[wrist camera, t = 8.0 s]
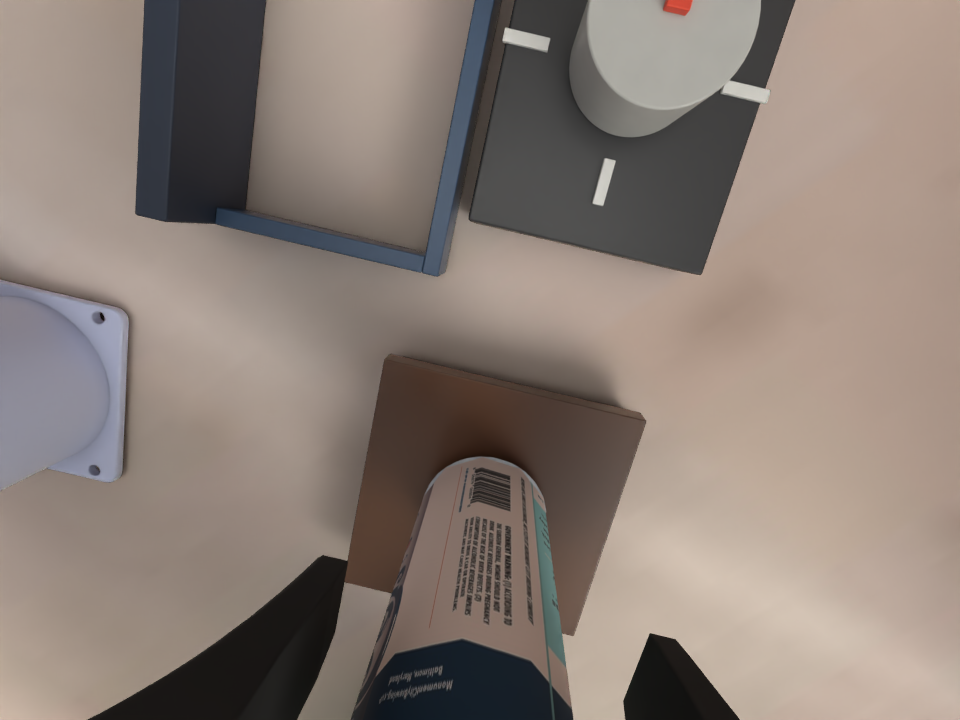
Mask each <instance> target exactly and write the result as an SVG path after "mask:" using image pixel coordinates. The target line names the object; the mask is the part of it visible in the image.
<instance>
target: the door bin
mask: <svg viewBox="0 0 960 720" xmlns="http://www.w3.org/2000/svg"><path fill="white" fill-rule="evenodd" d="M265 3H266V0H145V1H144V24H143V47H142V70H141V93H140V116H139V139H138V162H137V185H136V208H135V213H136V215H139V216H143V217H147V218H151V219H156V220H160V221H164V222H180V223H204V224H217V225H221V226H225V227H229V228H233V229H237V230H242V231H246V232H250V233H254V234H259V235H263V236H267V237H271V238H276V239H280V240H284V241H288V242H293V243H297V244H301V245H305V246H310V247H314V248H318V249H322V250H327V251H331V252H335V253H339V254H343V255H348V256H352V257H356V258H360V259H365V260H369V261H373V262H377V263H382V264H386V265H390V266H394V267H399V268H403V269H407V270H411V271H416V272H420V273H421V272H422V273H424V274H428V275H432V276H440V275H441V274H443V273H445V271H446V266H447V261H448V256H449V252H450V247H451V242H452V237H453V232H454V227H455V223H456V218H457V213H458V208H459V203H460V199H461V194H462V189H463V184H464V179H465V174H466V170H467V165H468V160H469V155H470V150H471V145H472V141H473V136H474V131H475V126H476V121H477V116H478V112H479V107H480V102H481V97H482V92H483V87H484V83H485V78H486V73H487V68H488V63H489V58H490V54H491V49H492V44H493V39H494V34H495V29H496V25H497V20H498V15H499V10H500V5H501V0H475V2H474V7H473V13H472V18H471V23H470V28H469V33H468V38H467V43H466V49H465V54H464V59H463V64H462V69H461V74H460V79H459V85H458V90H457V95H456V100H455V105H454V110H453V115H452V120H451V126H450V131H449V136H448V141H447V146H446V151H445V156H444V162H443V167H442V172H441V177H440V182H439V187H438V192H437V197H436V203H435V208H434V213H433V218H432V223H431V228H430V233H429V239H428V244H427V249H426V252H422V251H418V250H413V249H409V248H405V247H401V246H396V245H392V244H388V243H384V242H379V241H375V240H371V239H367V238H362V237H358V236H354V235H350V234H345V233H341V232H337V231H333V230H329V229H324V228H320V227H316V226H312V225H307V224H303V223H299V222H295V221H290V220H286V219H282V218H278V217H273V216H269V215H265V214H261V213H256V212H252V211H248V210H245V205H246V195H247V185H248V175H249V165H250V155H251V145H252V134H253V124H254V114H255V104H256V94H257V84H258V74H259V64H260V54H261V43H262V33H263V23H264V13H265Z"/></svg>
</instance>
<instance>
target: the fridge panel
mask: <svg viewBox="0 0 960 720" xmlns="http://www.w3.org/2000/svg"><path fill="white" fill-rule="evenodd" d="M587 2H588V0H515V2H514V7H513V11H512V16H511V21H510V26H509V28H505V30H504V35H503V39H502V42H503V43H506V44H505V49H504V54H503V58H502V63H501V68H500V72H499V77H498V82H497V87H496V91H495V96H494V101H493V105H492V110H491V115H490V119H489V124H488V129H487V133H486V138H485V143H484V148H483V152H482V157H481V162H480V166H479V171H478V176H477V180H476V185H475V190H474V194H473V199H472V204H471V209H470V213H469V220H470V221H471V222H474V223H478V224H482V225H486V226H490V227H494V228H499V229H503V230H507V231H511V232H516V233H520V234H524V235H528V236H533V237H537V238H541V239H545V240H550V241H554V242H558V243H562V244H567V245H571V246H575V247H579V248H583V249H588V250H592V251H596V252H600V253H605V254H609V255H613V256H617V257H622V258H626V259H630V260H634V261H639V262H643V263H647V264H651V265H656V266H660V267H664V268H668V269H672V270H677V271H682V272H687V273H692V274H696V275H701V274H702V272H703V269H704V266H705V263H706V260H707V257H708V254H709V252H710V249H711V246H712V243H713V240H714V237H715V234H716V231H717V228H718V225H719V222H720V219H721V216H722V213H723V211H724V208H725V205H726V202H727V199H728V196H729V193H730V190H731V187H732V184H733V181H734V178H735V175H736V173H737V170H738V167H739V164H740V161H741V158H742V155H743V152H744V149H745V146H746V143H747V140H748V137H749V134H750V132H751V129H752V126H753V123H754V120H755V117H756V114H757V111H758V108H759V105H760V103H762V104H766V103H767V101H768V98H769V95H770V92H771V90H768V89H765V88H766V85H767V82H768V79H769V76H770V73H771V70H772V67H773V64H774V61H775V58H776V55H777V52H778V50H779V47H780V44H781V41H782V38H783V35H784V32H785V29H786V26H787V23H788V20H789V17H790V14H791V11H792V9H793V6H794V3H795V0H761V11H760V18H759V24H758V28H757V32H756V36H755V39H754V41H753V44H752V46H751V49H750V51H749V53H748V55H747V56H746V58H745V60H744V62H743V63H742V65H741V66H740V68H739V69H738V71H737V72H736V73H735V74H734V75H733V77H732V78H731V79H730V80H729V81H728V82H727V83H726V84H725V85H724V86H723V87H722V88H721V89H719V90H718V91H717V92H715V93H714V94H713V95H711V96H710V97H708V98H707V99H705V100H704V101H703V102H701V103H700V104H698V105H697V106H695V107H694V108H693V109H691V110H690V111H688V112H687V113H685V114H684V115H682V116H681V117H680V118H678V119H677V120H675V121H674V122H672V123H671V124H669V125H668V126H667V127H665V128H663V129H661V130H659V131H657V132H655V133H652V134H649V135H645V136H641V137H621V136H616V135H612V134H609V133H607V132H605V131H603V130H601V129H599V128H598V127H596V126H595V125H594V124H593V123H591V122H590V121H589V120H588V119H587V118H586V116H585V115H584V114H583V113H582V111H581V110H580V108H579V107H578V105H577V103H576V101H575V98H574V96H573V92H572V89H571V84H570V77H569V64H570V56H571V50H572V47H573V44H574V41H575V38H576V35H577V32H578V29H579V26H580V23H581V20H582V17H583V14H584V11H585V8H586V5H587Z"/></svg>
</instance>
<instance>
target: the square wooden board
mask: <svg viewBox="0 0 960 720" xmlns="http://www.w3.org/2000/svg"><path fill="white" fill-rule="evenodd" d="M645 424H646V420H645V419H644V417H643V416H642V415H641V413H639V412H635V411H630V410H626V409H623V408H619V407H615V406H611V405H606V404H602V403H596V402H592V401H588V400H584V399H579V398H575V397H571V396H567V395H562V394H558V393H554V392H550V391H546V390H541V389H537V388H533V387H529V386H524V385H520V384H516V383H512V382H507V381H503V380H499V379H495V378H490V377H486V376H482V375H478V374H473V373H469V372H465V371H461V370H456V369H452V368H448V367H444V366H440V365H435V364H431V363H428V362H424V361H420V360H415V359H411V358H407V357H401V356H397V355H393V354H390V355H389V356H388V357H387V358H386V359H385V360H384V364H383V370H382V375H381V381H380V386H379V392H378V397H377V402H376V408H375V413H374V419H373V424H372V430H371V435H370V441H369V446H368V452H367V457H366V462H365V468H364V473H363V479H362V484H361V490H360V495H359V501H358V506H357V511H356V517H355V522H354V528H353V533H352V539H351V544H350V550H349V555H348V566H347V571H346V576H345V582H346V583H350V584H354V585H359V586H363V587H367V588H371V589H376V590H380V591H384V592H388V593H392V592H393V589H394V586H395V583H396V580H397V577H398V574H399V571H400V568H401V564H402V561H403V558H404V555H405V552H406V549H407V546H408V543H409V540H410V537H411V534H412V531H413V528H414V525H415V522H416V519H417V515H418V512H419V509H420V506H421V503H422V500H423V497H424V494H425V492H426V490H427V488H428V486H429V484H430V483H431V481H432V480H433V479H434V478H435V477H436V475H437V474H438V473H439V472H441V471H442V470H443V469H444V468H446V467H447V466H449V465H451V464H453V463H455V462H457V461H460V460H463V459H466V458H472V457H493V458H497V459H501V460H504V461H507V462H510V463H512V464H514V465H516V466H518V467H519V468H520V469H522V470H523V471H525V472H526V473H527V474H528V475H529V476H530V477H531V478H532V479H533V481H534V482H535V483H536V485H537V486H538V488H539V490H540V491H541V493H542V495H543V498H544V503H545V508H546V519H547V527H548V534H549V541H550V549H551V556H552V564H553V571H554V579H555V586H556V594H557V601H558V609H559V616H560V624H561V631H562V633H563V634H567V635H571V636H574V634H575V631H576V628H577V625H578V622H579V619H580V616H581V613H582V610H583V607H584V604H585V601H586V598H587V595H588V592H589V589H590V586H591V583H592V580H593V578H594V575H595V572H596V569H597V566H598V563H599V560H600V557H601V554H602V551H603V548H604V545H605V542H606V539H607V536H608V533H609V530H610V527H611V524H612V521H613V518H614V516H615V513H616V510H617V507H618V504H619V501H620V498H621V495H622V492H623V489H624V486H625V483H626V480H627V477H628V474H629V471H630V468H631V465H632V462H633V459H634V456H635V454H636V451H637V448H638V445H639V442H640V439H641V436H642V433H643V430H644V427H645Z"/></svg>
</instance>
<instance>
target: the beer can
mask: <svg viewBox="0 0 960 720" xmlns="http://www.w3.org/2000/svg"><path fill="white" fill-rule="evenodd" d="M351 720H573V714H572V706H571V699H570V691H569V684H568V676H567V669H566V661H565V654H564V646H563V639H562V631H561V624H560V616H559V609H558V601H557V594H556V586H555V579H554V571H553V564H552V556H551V549H550V541H549V534H548V527H547V519H546V508H545V503H544V498H543V495H542V493H541V491H540V490H539V488H538V486H537V485H536V483H535V482H534V481H533V479H532V478H531V477H530V476H529V475H528V474H527V473H526V472H525V471H523V470H522V469H520V468H519V467H518V466H516V465H514V464H512V463H510V462H507V461H504V460H501V459H497V458H493V457H472V458H466V459H463V460H460V461H457V462H455V463H453V464H451V465H449V466H447V467H446V468H444V469H443V470H442V471H441V472H439V473H438V474H437V475H436V477H435V478H434V479H433V480H432V481H431V483H430V484H429V486H428V488H427V490H426V492H425V494H424V497H423V500H422V503H421V506H420V509H419V512H418V515H417V519H416V522H415V525H414V528H413V531H412V534H411V537H410V540H409V543H408V546H407V549H406V552H405V555H404V558H403V561H402V564H401V568H400V571H399V574H398V577H397V580H396V583H395V586H394V589H393V592H392V595H391V598H390V601H389V604H388V607H387V610H386V613H385V616H384V620H383V623H382V626H381V629H380V632H379V635H378V638H377V641H376V644H375V647H374V650H373V653H372V656H371V659H370V662H369V665H368V669H367V672H366V675H365V678H364V681H363V684H362V687H361V690H360V693H359V696H358V699H357V702H356V705H355V708H354V711H353V714H352V718H351Z"/></svg>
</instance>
